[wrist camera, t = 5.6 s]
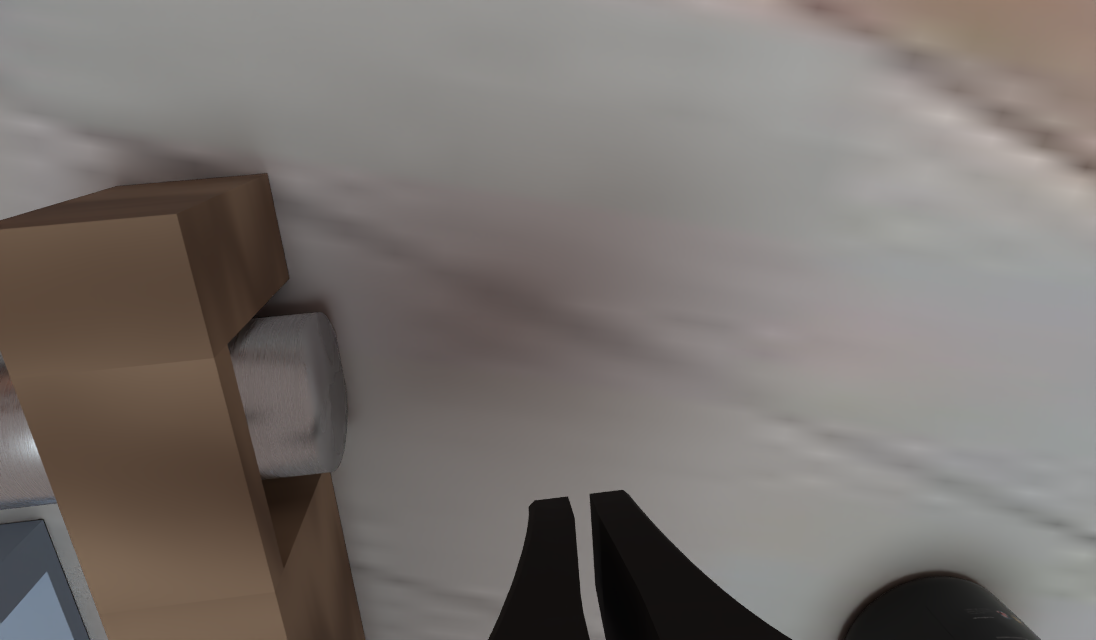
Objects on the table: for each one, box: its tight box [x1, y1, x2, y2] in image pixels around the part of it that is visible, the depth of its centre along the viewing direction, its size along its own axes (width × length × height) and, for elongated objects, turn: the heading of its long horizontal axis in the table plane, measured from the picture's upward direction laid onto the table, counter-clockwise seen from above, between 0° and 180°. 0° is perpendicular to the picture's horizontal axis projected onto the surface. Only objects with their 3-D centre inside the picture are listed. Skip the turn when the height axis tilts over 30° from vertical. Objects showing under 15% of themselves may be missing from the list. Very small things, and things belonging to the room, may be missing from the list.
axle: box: [0, 312, 347, 510], centre depth 18 cm, size 4×16×4 cm, turn 94°
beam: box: [0, 174, 365, 640], centre depth 19 cm, size 18×4×6 cm, turn 4°
